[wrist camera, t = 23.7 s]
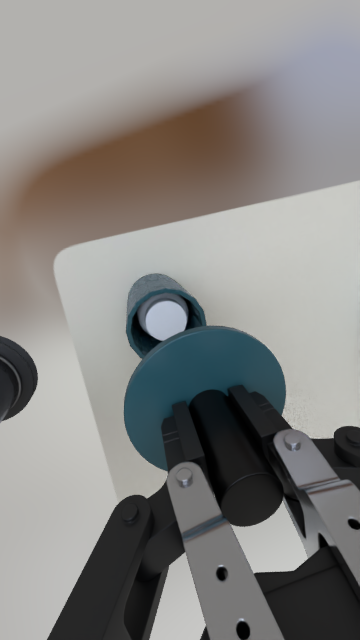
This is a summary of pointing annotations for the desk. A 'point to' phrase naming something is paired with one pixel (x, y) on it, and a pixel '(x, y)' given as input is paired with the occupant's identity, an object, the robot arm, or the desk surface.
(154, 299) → the pill bottle
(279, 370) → the lid
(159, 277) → the pot
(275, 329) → the desk surface
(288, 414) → the desk surface
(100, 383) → the desk surface
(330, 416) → the desk surface
